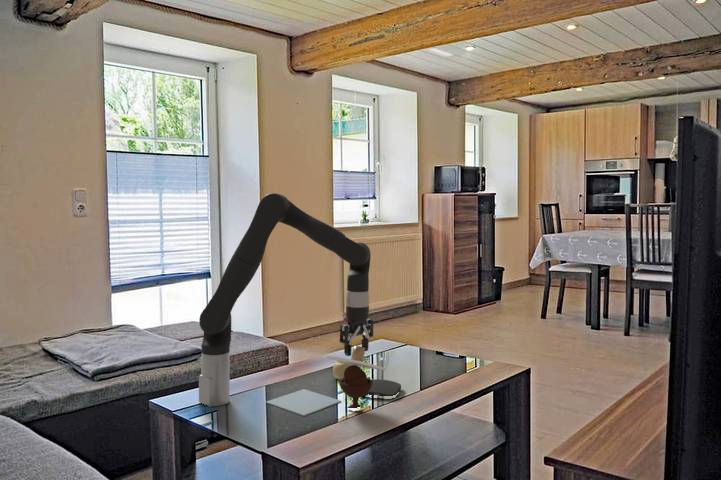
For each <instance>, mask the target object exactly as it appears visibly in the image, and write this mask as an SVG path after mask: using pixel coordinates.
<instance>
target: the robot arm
mask: <svg viewBox="0 0 721 480" xmlns="http://www.w3.org/2000/svg"><path fill="white" fill-rule="evenodd" d="M278 223H282V224H283V225H287V226H289V227H291V228H294V229H296V230H297V231H299V232H301V233H302V234H303V235H305V236H306V237H308V238H309V239H310V240H312V241H313V242H314V243H316V244H318V245H319V246H321V247H323V248H324V249H326V250H328V251H330V252H333V253H334V254H336V255H337V256H338V257H340V258H341V259H342V260H344V261H345V262H347V264H349V272H348V275H347V281H346V284H347V285H346V295H345V318H346V320H347V324H344V323H343V324H342V323H341V324H340V328H339V329H340V331H339V343H341V344H343V345H344V348H343V349H344V351H343V352H344V355H345V356H348V357H350V356H351V357H352V343H353V341H354V340H355V339H356V337H357V336H359V335H360V336H361V347H364V348H366V349H365V352H368V351H369V344H370V343H369V341H370V338H373V337H374V319H371V318H370V317H369V316H370V292H369V288H370V287H369V285H370V284H369V283H370V280H369V276H370V275H369V273H370V267H371V256H372V255H371V254H372V253H371V250H370V248H369V246H368V245H367V244H366V243H364V242H356V241H354V240H352V239H351V238H348V237H347V236H346V235H345V234H344V233H343V231H340V230H338V229H336V228H335V227H333V226H331V225H329V224H327V223H326V222H323V221H322V220H319V219H317V218H315V217H314V216H312V215H310V214H308V213H307V212H305V211H303V210H302V209H300V208H299V207H297V206H296V205H295V204H294V203H292V201H291V200H289V199H288V198H287V197H286V196H284V195H283V194H279V193H274V192H271V193H267V194H265V195H264V196H263V197H262V198H261V200H260V201H259V203H258V205H257V208H256V210H255V213H254V216H253V218H252V220H251V222H250V225H249V226H248V228H247V231H245V233H244V235H243V237H242V239H241V240H240V242H239V244H238V245H237V247H236V249H235V251H234V252H233V254H232V256H231V258H230V260H229V262H228V263H227V266H226V268H225V270H224V272H223V274H222V276H221V279H220V281H219V284H218V287H217V289H216V290H215V292H214V294H213V295H212V297H211V299H210V300H209V302H208V303H207V305H206V306H205V307H204V309H203V310H202V312H201V313H200V316H199V323H198V324H199V327H200V329H201V330H202V331H203V338H202V342H201V349H200V350H201V356H200V357H201V361H200V362H201V370H200V371H201V372H200V373H201V374H199V375H198V403H199V402H200V403H199V404H201V403H202V404H201V405H203V404H204V406H206V405H207V406H206V407H209V408H211V407H218V406H219V407H220V406H225V405H226V404H229V402H230V381H231V380H230V374H231V373H230V369H231V368H230V365H231V364H230V359H231V358H230V354H231V353H230V350H231V349H230V347H231V341H232V310H233V308H234V306H235V305H236V302H237V301H238V299H239V298H240V296H241V295H242V293H244V291H245V289H246V288H247V287H248V285H249V284H250V282H251V281H252V279H253V278H254V277H255V275H256V273H257V270H258V269H259V267H260V265H261V263H262V261H263V259H264V258H263V257H264V255H265V251H266V248H267V242H268V240H269V238H270V236H271V234H272V232H273V230H274V229H275V227H276V226H277V224H278Z"/></svg>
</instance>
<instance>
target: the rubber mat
mask: <svg viewBox="0 0 721 480" xmlns="http://www.w3.org/2000/svg"><path fill="white" fill-rule="evenodd" d="M265 403H266V404H269V405H271V406H274V407H275V408H276V407H277V408H279V409H282V410H286V411H288V412H292V413H294V414H295V415H298V416H299V415H300V416H302V417H306V416H309V415H310V414H313V413H316V412H318V411H322V410H324V409H326V408H329V407H332V406H334V405H337V404H339V403H342V400H340V399H336V398H334V397H331V396H328V395H324V394H322V393H319V392H314V391H312V390H308V389H306V388H303V389H300V390H297V391H293V392H291V393H289V394H285V395H282V396H279V397H276V398H273V399H271V400H270V399H269V400H267V401H265Z"/></svg>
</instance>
